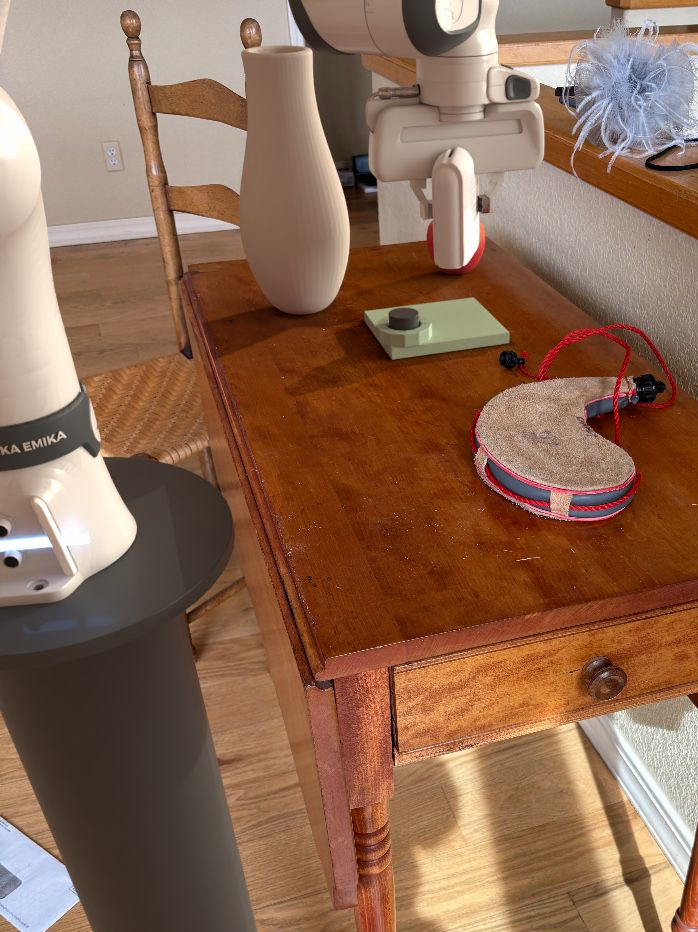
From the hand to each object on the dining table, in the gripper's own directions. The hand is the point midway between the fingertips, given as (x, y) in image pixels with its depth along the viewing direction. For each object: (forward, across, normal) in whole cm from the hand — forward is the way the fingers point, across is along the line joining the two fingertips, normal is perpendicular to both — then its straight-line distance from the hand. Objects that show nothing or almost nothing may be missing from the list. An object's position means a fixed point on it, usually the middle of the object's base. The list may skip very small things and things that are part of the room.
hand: (457, 215), depth 109 cm
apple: (+14, +7, +21) cm, 26 cm away
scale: (+14, -3, 0) cm, 14 cm away
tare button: (+11, -8, -3) cm, 14 cm away
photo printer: (+5, 0, -1) cm, 5 cm away
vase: (+14, -17, +14) cm, 26 cm away
